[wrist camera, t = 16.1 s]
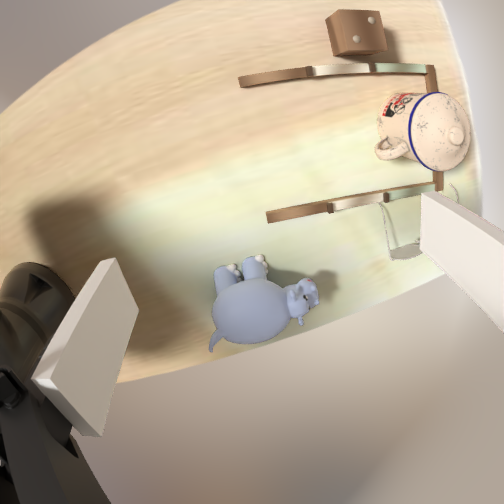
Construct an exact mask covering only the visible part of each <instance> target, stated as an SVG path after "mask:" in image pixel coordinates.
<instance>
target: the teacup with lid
mask: <svg viewBox="0 0 504 504" xmlns="http://www.w3.org/2000/svg"><path fill="white" fill-rule="evenodd" d="M377 126H378V132H379V135H380V137H381V139H382V140H381V141H379V142H378V143H377V144H376V146H375V153H376V155H377V157H378V158H379V159H381V160H392V159H395V158H398V157H400V156H403V157H406V158H409V159H411V160H414V161H416V162H419V163H421V164H422V165H423V166H425V167H426V168H428V169H430V170H433V171H447V170H450V169H452V168H454V167H456V166H457V165H458V164H459V163H460V162H461V161H462V160H463V158H464V157H465V155H466V153H467V151H468V148H469V144H470V136H471V132H470V124H469V120H468V117H467V115H466V113H465V111H464V109H463V108H462V106H461V105H460V104H459V103H458V102H457V101H456V100H455V99H454V98H452V97H451V96H449V95H447V94H445V93H441V92H431V93H428V94H427V93H397V94H394V95H391V96H390V97H388V98H387V99H386V100H385V101H384V102H383V104H382V105H381V107H380V110H379V113H378V118H377ZM387 148H388V149H387ZM385 149H386V150H385Z"/></svg>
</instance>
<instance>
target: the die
mask: <svg viewBox="0 0 504 504" xmlns="http://www.w3.org/2000/svg"><path fill="white" fill-rule="evenodd" d="M325 21H326V25H327V29H328V33H329V38H330V42H331V47H332V51H333V56H345V55H372V54H375V53H379V52H383V51H387V50H388V47H387V42H386V38H385V33H384V29H383V25H382V20H381V16H380V12H379V11H370V10H337V11H336V12H335V13H333V14H332V15H331V16H330V17H328V18H327V19H326V20H325Z"/></svg>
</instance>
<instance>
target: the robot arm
mask: <svg viewBox="0 0 504 504" xmlns="http://www.w3.org/2000/svg"><path fill="white" fill-rule="evenodd" d="M420 250H421V251H422V252H423V253H424V254H425V255H426V256H427V257H429V258H430V259H431V260H432V261H433V262H434V263H435V264H436V265H437V266H438V267H439V268H440V269H441V270H443V271H444V272H445V273H446V274H447V275H448V276H449V277H450V278H451V279H452V280H453V281H454V282H455V283H456V284H457V285H458V286H459V287H460V288H461V289H462V290H463V291H464V292H465V293H466V294H467V295H468V296H469V297H470V298H471V299H472V300H473V301H474V302H475V303H476V304H477V305H478V306H479V307H480V308H481V309H482V310H483V311H484V312H485V314H486V315H487V316H488V317H489V318H490V319H491V320H492V321H493V322H494V323H495V324H496V325H497V327H498V328H499V329H500V330H501V331H502V332H503V333H504V231H502V230H501V229H499V228H497V227H496V226H494V225H493V224H491V223H490V222H488V221H486V220H485V219H483V218H482V217H480V216H478V215H477V214H475V213H473V212H472V211H470V210H468V209H467V208H465V207H463V206H461V205H460V204H458V203H456V202H454V201H453V200H451V199H449V198H447V197H445V196H444V195H442V194H440V193H438V192H436V191H430V192H424V193H421V232H420ZM138 312H139V309H138V307H137V305H136V302H135V300H134V298H133V296H132V294H131V291H130V289H129V287H128V285H127V282H126V280H125V278H124V276H123V273H122V271H121V269H120V266H119V264H118V261H117V259H116V257H115V258H111V259H107V260H102V261H100V263H99V264H98V266H97V267H96V268H95V270H94V271H93V273H92V274H91V276H90V277H89V279H88V281H87V282H86V284H85V285H84V287H83V288H82V290H81V291H80V293H79V294H78V296H77V298H76V299H74V297H73V295H72V293H71V291H70V290H69V288H68V287H67V286H66V284H65V283H64V282H63V281H62V280H61V279H60V278H59V277H58V276H57V275H56V274H55V273H53V272H52V271H50V270H49V269H47V268H45V267H43V266H41V265H39V264H35V263H21V264H19V265H17V266H15V267H14V268H13V269H12V270H11V271H10V272H9V273H8V274H7V276H6V277H5V279H4V281H3V284H2V286H1V289H0V460H1V466H0V504H111V502H110V501H109V499H108V498H107V496H106V495H105V493H104V491H103V490H102V488H101V486H100V485H99V483H98V481H97V480H96V478H95V476H94V475H93V473H92V471H91V469H90V467H89V465H88V464H87V462H86V460H85V458H84V456H83V454H82V452H81V450H80V448H79V446H78V444H77V442H76V440H75V439H74V438H73V436H72V435H71V434H70V432H71V429H72V426H73V427H74V428H75V429H77V431H79V432H80V434H81V435H82V436H93V437H102V434H103V430H104V426H105V422H106V418H107V414H108V410H109V406H110V403H111V399H112V396H113V392H114V389H115V385H116V382H117V378H118V375H119V371H120V368H121V365H122V361H123V358H124V355H125V352H126V349H127V346H128V342H129V339H130V336H131V333H132V330H133V327H134V324H135V321H136V318H137V315H138Z"/></svg>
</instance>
